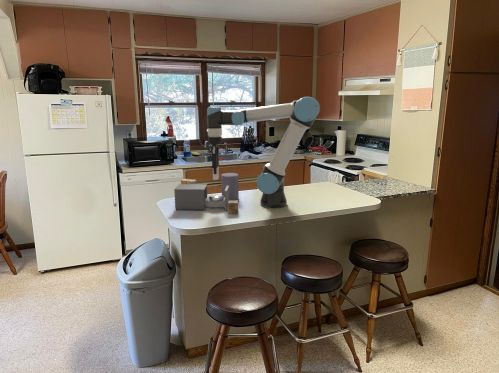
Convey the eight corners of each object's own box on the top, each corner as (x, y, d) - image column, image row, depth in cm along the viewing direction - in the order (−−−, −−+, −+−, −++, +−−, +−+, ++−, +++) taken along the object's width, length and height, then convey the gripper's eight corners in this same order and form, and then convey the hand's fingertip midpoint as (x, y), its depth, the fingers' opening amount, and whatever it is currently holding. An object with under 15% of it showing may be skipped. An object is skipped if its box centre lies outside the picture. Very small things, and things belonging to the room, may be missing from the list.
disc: (224, 197, 214) (224, 194, 214) (222, 201, 206) (222, 198, 206) (210, 197, 214) (210, 194, 214) (208, 201, 206) (208, 198, 206)
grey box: (207, 204, 217) (206, 184, 215) (204, 210, 206) (203, 189, 203) (180, 204, 218) (179, 184, 215) (175, 210, 206) (174, 189, 203)
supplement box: (181, 201, 224) (180, 180, 221) (185, 199, 228) (184, 178, 225) (193, 202, 221) (192, 181, 218) (197, 200, 225) (196, 179, 222)
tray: (229, 204, 217) (228, 185, 214) (227, 210, 205) (226, 190, 203) (202, 204, 217) (201, 185, 215) (199, 210, 206) (198, 190, 203)
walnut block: (238, 211, 205) (238, 200, 203) (237, 213, 200) (237, 203, 198) (229, 211, 205) (228, 200, 203) (228, 213, 200) (228, 203, 198)
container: (220, 197, 233) (219, 173, 229) (236, 195, 236) (235, 172, 232) (224, 201, 223) (223, 176, 220) (240, 200, 226) (240, 175, 223)
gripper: (209, 134, 210) (211, 175, 216) (205, 137, 194) (207, 182, 200) (223, 134, 210) (224, 175, 215) (220, 137, 194) (221, 182, 199)
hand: (215, 178), depth 207 cm, fingers open, 3 cm apart
